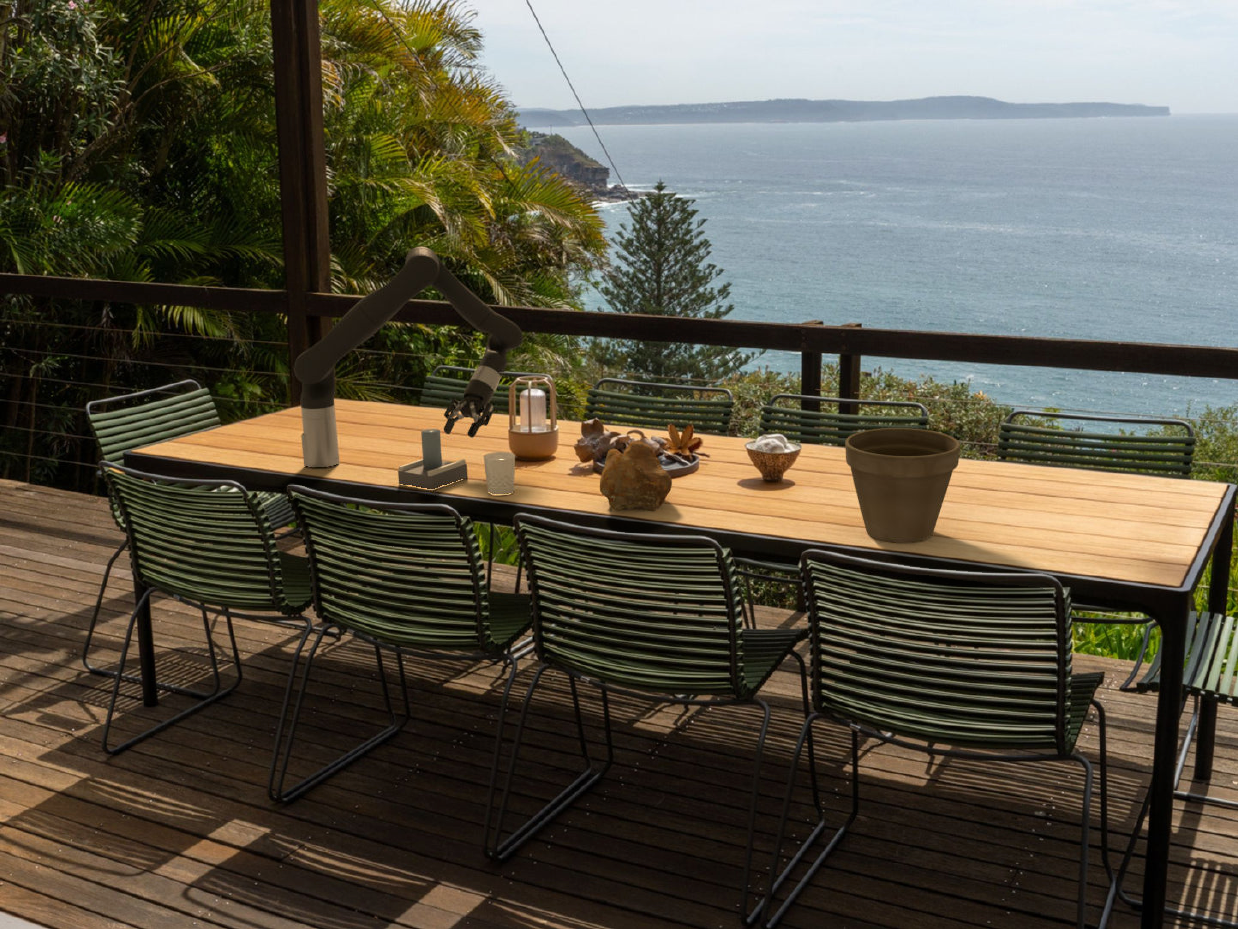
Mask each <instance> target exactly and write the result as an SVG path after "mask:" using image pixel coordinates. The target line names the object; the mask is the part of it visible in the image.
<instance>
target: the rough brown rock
mask: <svg viewBox="0 0 1238 929" xmlns="http://www.w3.org/2000/svg"><path fill="white" fill-rule="evenodd" d="M672 485H673V480H672V477H671V475H670V474H669V472H668V471H667V470H665V469H664V468H663V466H662V464H661V462H660V459H659V458H658V457H657V455H656V452H655V451H654V449H653V447H651V446H650V445H649V444H648V443H645V442H643V441H639V440H632V441H630V442H629V443H628V445H627V446H626V448H625V449H624V452H623V453H622V452H620V451H619V450H618V449H616V448H611V449H610V450H608V451H607V454H606V458H605V461H604V466H603V469H602V471H601V475H600V479H599V491H600V493H601V494H602V496H604V497H605V498H607V500H608V504H609V507H610V508H611V509H612V510H614V511H621V510H622V509H624V508H626V509H628V510H631V509H637V508H643V509H646V510H650V511H656V510H658V509H659V508H660V507H662V505H663V503H664V501H665V500H666V498H667V496H668V494H669V493H670V492H671V490H672Z"/></svg>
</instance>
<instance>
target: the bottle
mask: <svg viewBox="0 0 1238 929" xmlns="http://www.w3.org/2000/svg"><path fill="white" fill-rule="evenodd" d="M420 432H421V434H420V435H421V449H422V450H421V451H422V459H423V468H424V469H426V470H433V469H436V468H439V467H442V459H443V456H442V454H443V453H442V440H441V429H438V428H428V429H422V430H421V431H420Z"/></svg>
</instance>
